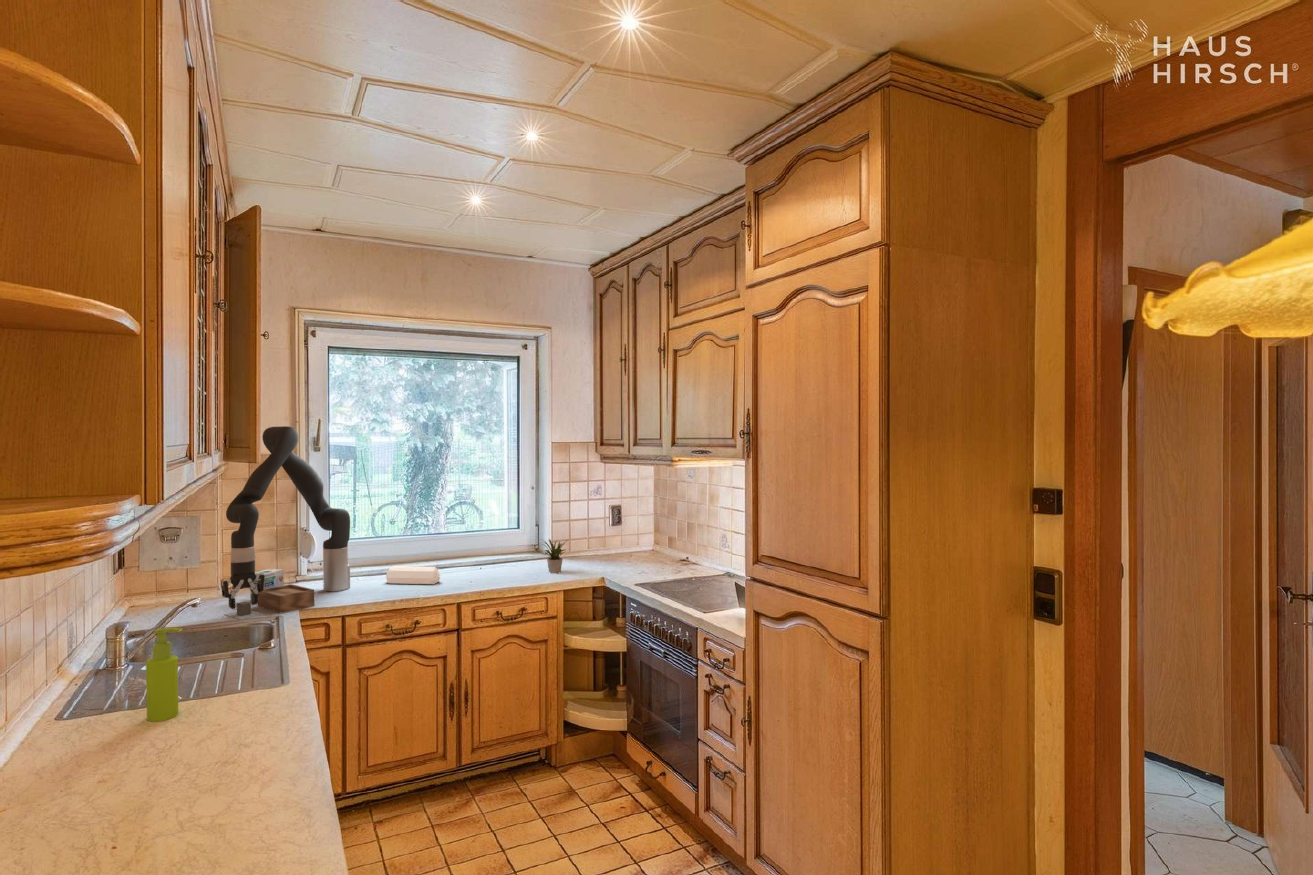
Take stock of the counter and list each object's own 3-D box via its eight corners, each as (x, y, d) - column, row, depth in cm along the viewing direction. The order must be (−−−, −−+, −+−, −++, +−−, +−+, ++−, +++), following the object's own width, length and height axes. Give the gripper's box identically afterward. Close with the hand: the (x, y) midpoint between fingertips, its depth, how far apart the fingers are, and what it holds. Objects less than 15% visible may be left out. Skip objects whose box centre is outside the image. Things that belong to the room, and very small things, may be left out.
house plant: (530, 574, 318) (530, 538, 317) (544, 568, 331) (544, 533, 331) (559, 576, 313) (559, 539, 313) (572, 570, 327) (572, 535, 326)
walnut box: (291, 599, 272) (291, 584, 272) (314, 605, 262) (314, 589, 262) (257, 606, 262) (257, 590, 262) (280, 612, 252) (280, 596, 252)
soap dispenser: (178, 719, 159) (177, 630, 159) (142, 723, 157) (141, 633, 157) (187, 709, 164) (186, 624, 164) (153, 712, 163) (151, 626, 162)
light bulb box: (264, 602, 268) (264, 574, 268) (249, 601, 270) (249, 573, 269) (284, 595, 279) (284, 568, 279) (270, 595, 280) (269, 568, 280)
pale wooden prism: (445, 571, 306) (393, 570, 309) (439, 566, 299) (386, 565, 302) (442, 588, 302) (389, 587, 305) (435, 583, 296) (381, 582, 299)
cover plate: (247, 611, 257) (247, 598, 257) (264, 616, 250) (264, 602, 250) (223, 616, 250) (223, 602, 250) (240, 621, 243) (240, 607, 243)
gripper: (258, 555, 258) (259, 601, 258) (215, 561, 246) (216, 609, 246) (268, 557, 253) (269, 603, 253) (225, 563, 242) (226, 612, 242)
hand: (243, 606), depth 250 cm, fingers open, 6 cm apart
